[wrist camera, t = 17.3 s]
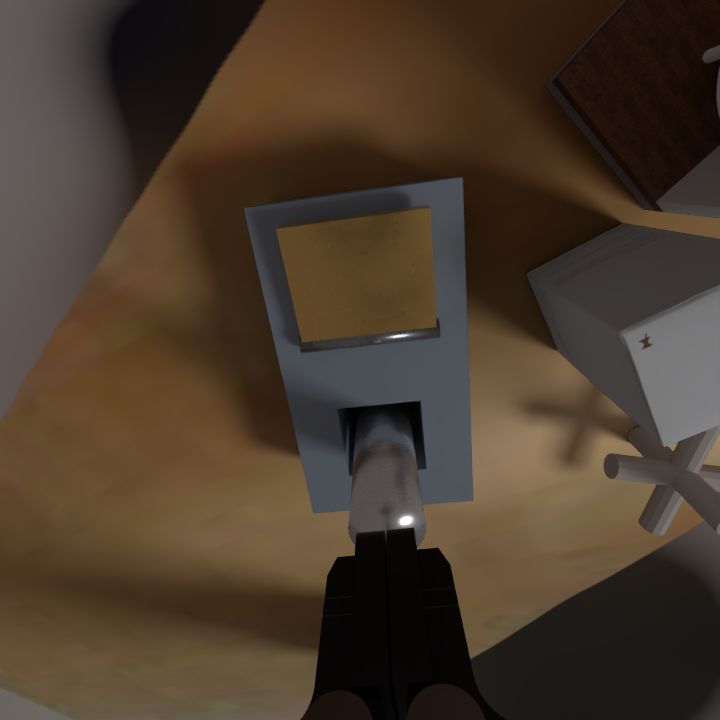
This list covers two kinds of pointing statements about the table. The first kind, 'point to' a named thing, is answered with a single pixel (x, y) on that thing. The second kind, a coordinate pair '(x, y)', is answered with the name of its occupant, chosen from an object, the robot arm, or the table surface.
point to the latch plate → (361, 278)
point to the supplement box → (641, 323)
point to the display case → (652, 101)
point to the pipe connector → (671, 477)
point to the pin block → (376, 352)
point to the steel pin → (385, 473)
